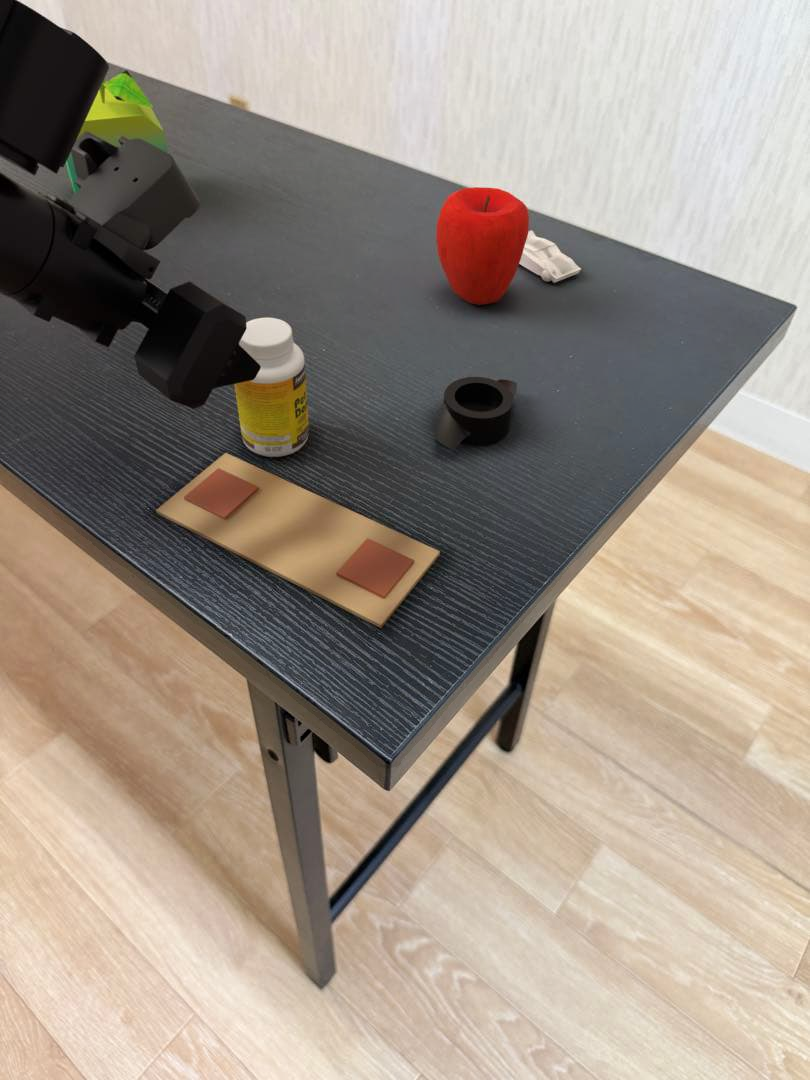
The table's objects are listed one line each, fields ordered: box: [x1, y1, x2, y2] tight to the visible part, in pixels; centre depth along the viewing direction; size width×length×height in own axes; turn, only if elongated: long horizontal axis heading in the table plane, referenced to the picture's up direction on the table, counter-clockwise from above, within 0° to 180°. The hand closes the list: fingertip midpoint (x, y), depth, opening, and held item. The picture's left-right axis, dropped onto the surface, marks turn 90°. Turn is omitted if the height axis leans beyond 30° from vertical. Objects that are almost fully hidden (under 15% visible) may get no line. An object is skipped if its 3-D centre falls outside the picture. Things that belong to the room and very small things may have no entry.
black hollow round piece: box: [433, 376, 518, 452], centre depth 68 cm, size 8×10×3 cm
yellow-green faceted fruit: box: [65, 69, 169, 195], centre depth 92 cm, size 11×10×15 cm
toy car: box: [519, 229, 582, 284], centre depth 88 cm, size 5×8×2 cm, turn 38°
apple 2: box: [435, 186, 530, 306], centre depth 80 cm, size 9×9×11 cm
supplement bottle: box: [234, 317, 310, 458], centre depth 63 cm, size 6×6×10 cm
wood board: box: [155, 452, 441, 629], centre depth 59 cm, size 20×8×1 cm, turn 59°
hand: (216, 344), depth 57 cm, fingers open, 9 cm apart
